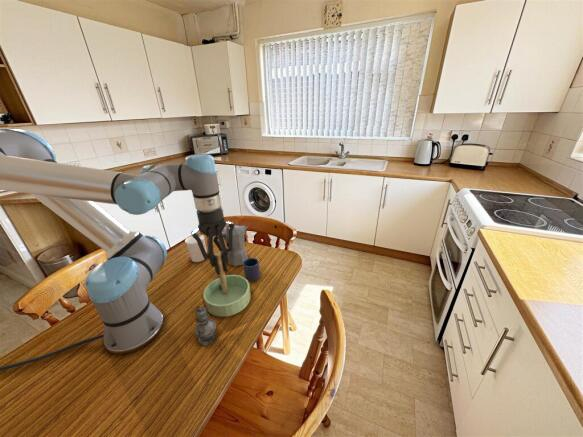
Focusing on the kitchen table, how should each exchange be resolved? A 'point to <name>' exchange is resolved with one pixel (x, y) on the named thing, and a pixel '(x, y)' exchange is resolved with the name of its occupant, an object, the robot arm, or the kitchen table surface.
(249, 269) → the utensil pot
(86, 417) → the kitchen table surface
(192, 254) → the white cup
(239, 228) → the coffeepot
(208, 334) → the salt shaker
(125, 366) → the kitchen table surface
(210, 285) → the bowl
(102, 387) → the kitchen table surface
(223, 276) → the stirring stick
